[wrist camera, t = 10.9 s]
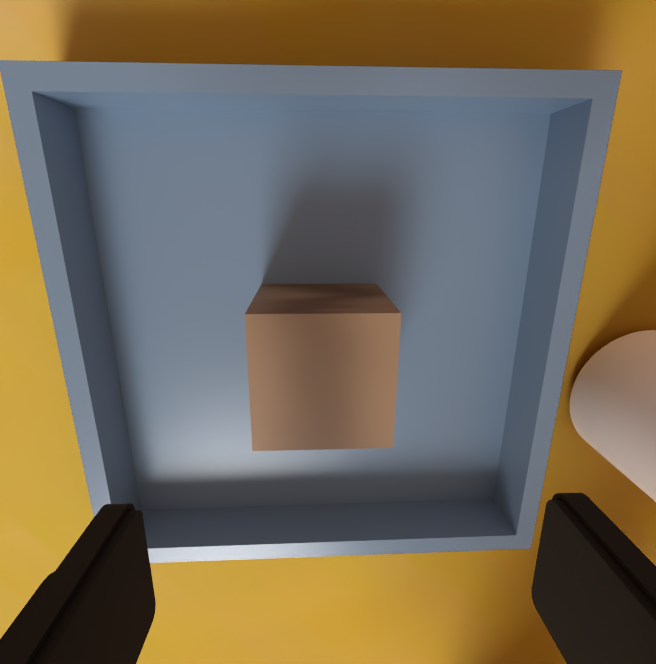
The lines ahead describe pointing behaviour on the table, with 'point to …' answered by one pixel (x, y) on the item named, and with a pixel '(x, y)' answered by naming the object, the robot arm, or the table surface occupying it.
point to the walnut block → (322, 366)
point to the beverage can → (621, 406)
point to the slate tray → (312, 268)
